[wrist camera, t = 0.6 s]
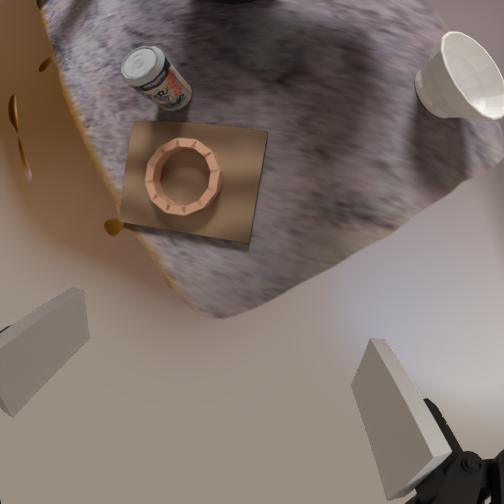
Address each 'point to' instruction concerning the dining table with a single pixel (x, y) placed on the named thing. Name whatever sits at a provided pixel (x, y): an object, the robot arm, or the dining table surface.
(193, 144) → the ring
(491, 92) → the cup
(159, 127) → the board
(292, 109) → the dining table surface
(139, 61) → the lidded canister
